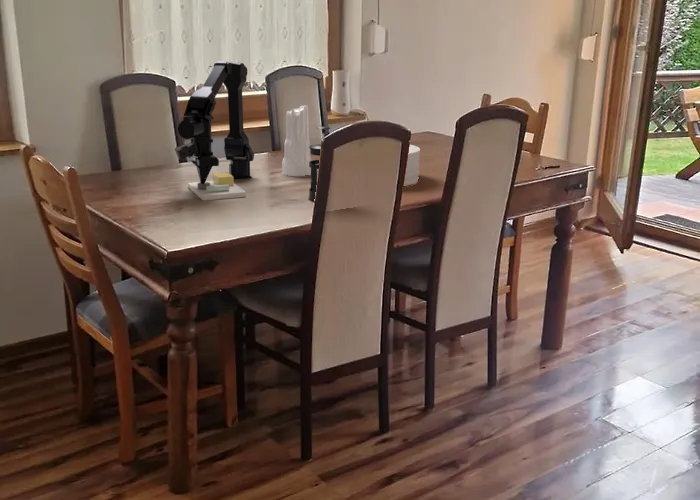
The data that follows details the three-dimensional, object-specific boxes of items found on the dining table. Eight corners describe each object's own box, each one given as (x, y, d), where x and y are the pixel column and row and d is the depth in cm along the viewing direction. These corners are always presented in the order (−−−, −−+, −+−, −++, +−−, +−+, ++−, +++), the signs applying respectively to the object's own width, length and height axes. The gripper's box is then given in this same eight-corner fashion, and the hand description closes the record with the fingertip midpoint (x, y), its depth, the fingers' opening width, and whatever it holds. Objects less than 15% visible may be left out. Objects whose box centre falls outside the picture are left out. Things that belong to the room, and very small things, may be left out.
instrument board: (228, 183, 266) (228, 170, 264) (246, 196, 248) (245, 182, 247) (188, 187, 260) (187, 173, 259) (202, 200, 243) (201, 186, 242)
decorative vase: (277, 175, 282) (276, 105, 274) (290, 169, 291) (289, 102, 284) (304, 177, 278) (304, 106, 271) (316, 172, 287) (317, 103, 280)
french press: (300, 199, 246) (300, 126, 240) (319, 194, 254) (319, 123, 247) (329, 205, 240) (330, 130, 233) (348, 200, 247) (349, 127, 240)
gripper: (170, 131, 252) (171, 179, 257) (183, 140, 236) (183, 190, 240) (204, 131, 257) (205, 177, 261) (219, 139, 240) (219, 189, 245)
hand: (202, 183), depth 252 cm, fingers closed, pressing on instrument board
